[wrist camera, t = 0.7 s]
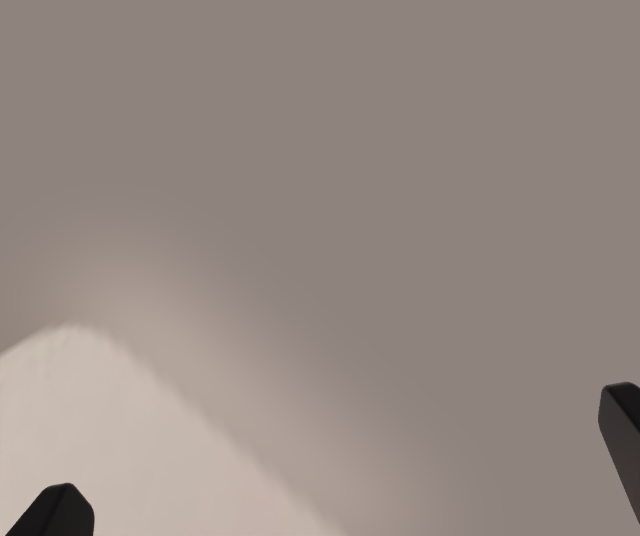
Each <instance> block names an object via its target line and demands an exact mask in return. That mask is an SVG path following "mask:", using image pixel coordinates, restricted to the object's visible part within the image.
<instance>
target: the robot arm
mask: <svg viewBox="0 0 640 536" xmlns="http://www.w3.org/2000/svg"><path fill="white" fill-rule="evenodd" d="M598 423H599V427H600V431H601V433H602V436H603V438H604V440H605V443H606V445H607V448H608V450H609V452H610V455H611V457H612V460H613V462H614V465H615V467H616V469H617V472H618V474H619V477H620V479H621V482H622V484H623V486H624V489H625V491H626V494H627V496H628V498H629V501H630V503H631V506H632V508H633V510H634V513H635V515H636V517H637V519H638V522H639V524H640V388H639V387H638V386H637V385H635V384H633V383H630V382H622V383H616V384H612V385H606V386H605V387H604V388H603V389H602V392H601V400H600V406H599V415H598ZM93 532H94V511H93V509H92V506H91V505H90V504H89V502H88V501H87V500H86V499H85V498H84V496H83V495H82V494H81V493H80V492H79V490H78V489H77V488H76V487H75V486H74V485H73V484H71V483H63V484H58V485H52V486H49V487H47V488H45V489H44V490H43V491H42V492H41V493H40V494H39V496H38V497H37V498H36V499H35V500H34V502H33V503H32V504H31V505H30V506H29V508H28V509H27V510H26V511H25V512H24V514H23V515H22V516H21V517H20V518H19V520H18V521H17V522H16V523H15V524H14V526H13V527H12V528H11V529H10V530H9V532H8V533H7V534H6V535H5V536H93Z"/></svg>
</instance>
